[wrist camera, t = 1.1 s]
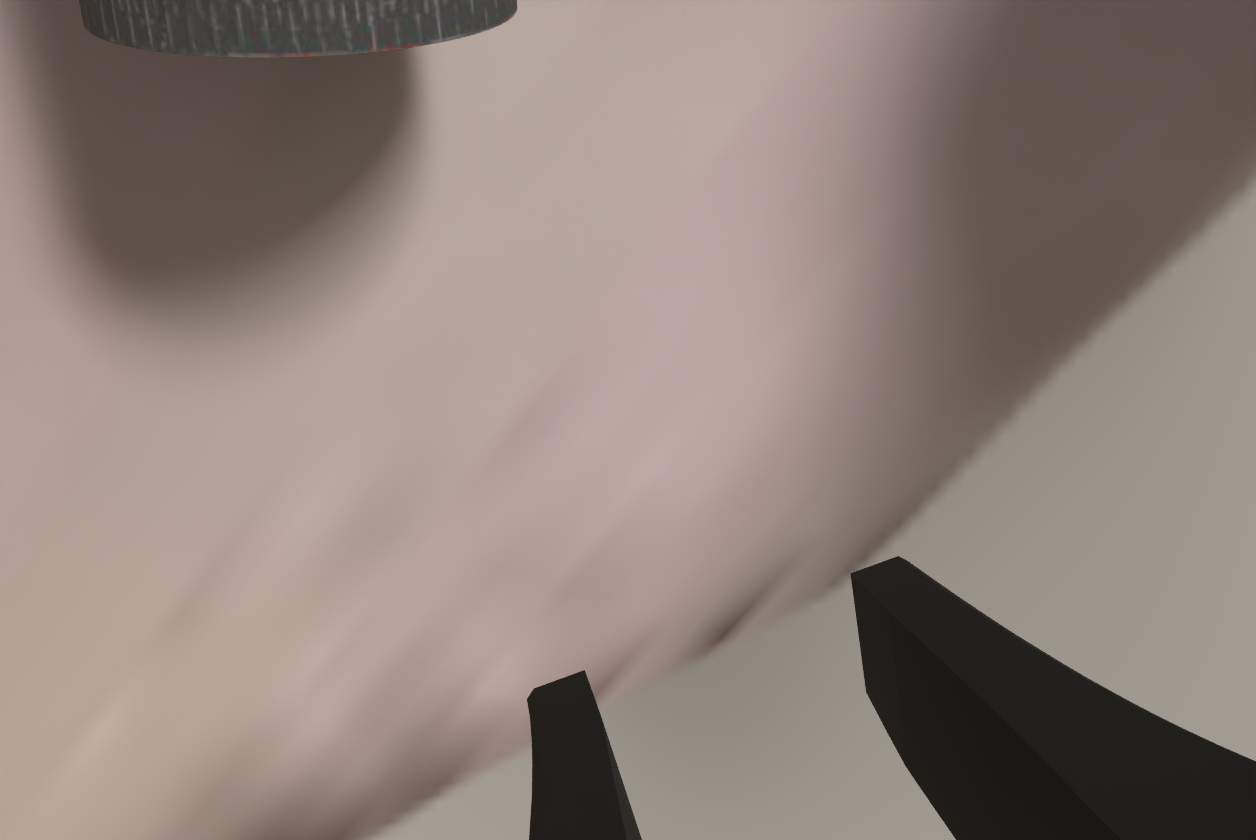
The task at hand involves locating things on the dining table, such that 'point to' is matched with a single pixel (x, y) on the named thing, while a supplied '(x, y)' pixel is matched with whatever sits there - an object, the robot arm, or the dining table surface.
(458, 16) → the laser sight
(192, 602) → the dining table surface
